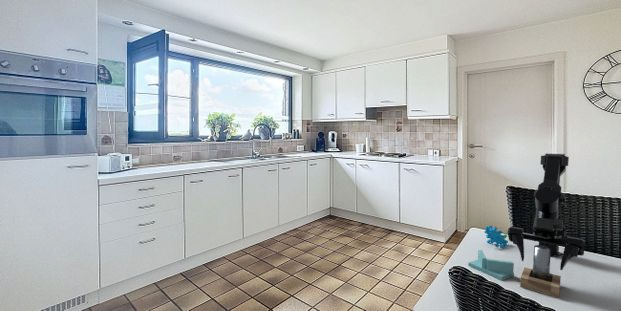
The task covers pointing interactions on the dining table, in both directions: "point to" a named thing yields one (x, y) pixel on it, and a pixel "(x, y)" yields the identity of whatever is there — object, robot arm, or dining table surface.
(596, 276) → the dining table surface
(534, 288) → the block
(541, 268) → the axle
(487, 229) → the gear
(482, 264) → the v block
